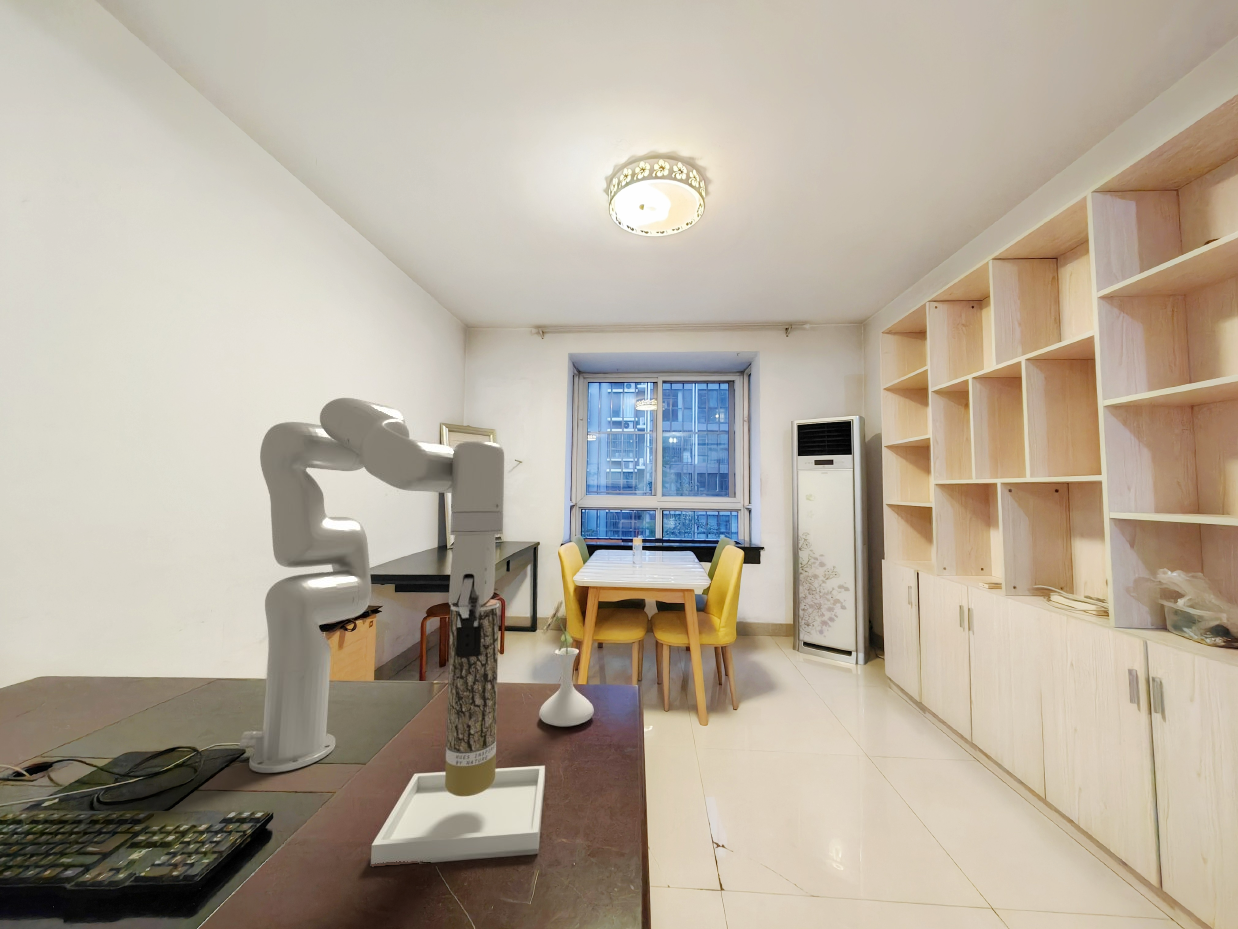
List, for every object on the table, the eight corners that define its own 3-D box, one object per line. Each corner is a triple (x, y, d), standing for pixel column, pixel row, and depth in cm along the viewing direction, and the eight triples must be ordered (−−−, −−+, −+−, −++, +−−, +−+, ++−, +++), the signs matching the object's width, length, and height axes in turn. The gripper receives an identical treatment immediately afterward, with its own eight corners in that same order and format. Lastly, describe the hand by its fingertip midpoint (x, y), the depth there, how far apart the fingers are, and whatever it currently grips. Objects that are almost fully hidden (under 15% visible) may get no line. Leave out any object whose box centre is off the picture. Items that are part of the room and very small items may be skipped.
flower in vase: (553, 706, 105) (554, 591, 107) (601, 712, 101) (601, 593, 104) (524, 732, 92) (526, 601, 95) (578, 740, 89) (578, 604, 92)
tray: (370, 867, 57) (371, 845, 57) (413, 791, 73) (414, 773, 73) (538, 853, 59) (538, 832, 59) (544, 782, 75) (544, 765, 75)
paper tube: (505, 778, 68) (508, 600, 71) (472, 804, 62) (477, 609, 64) (468, 768, 71) (473, 597, 73) (433, 792, 65) (440, 605, 67)
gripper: (464, 524, 78) (460, 634, 76) (434, 526, 61) (429, 668, 59) (509, 523, 79) (507, 633, 77) (493, 525, 62) (490, 666, 60)
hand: (473, 647), depth 68 cm, fingers closed on paper tube, 6 cm apart
